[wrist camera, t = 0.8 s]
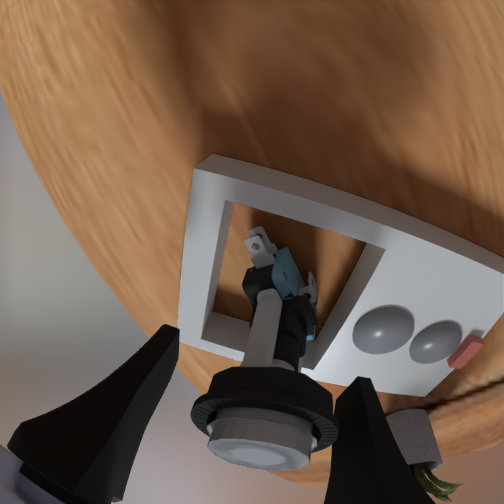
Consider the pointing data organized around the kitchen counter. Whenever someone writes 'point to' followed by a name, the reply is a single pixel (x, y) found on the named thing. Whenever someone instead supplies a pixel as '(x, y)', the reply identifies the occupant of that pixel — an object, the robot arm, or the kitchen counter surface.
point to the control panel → (356, 289)
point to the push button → (270, 374)
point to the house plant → (419, 449)
